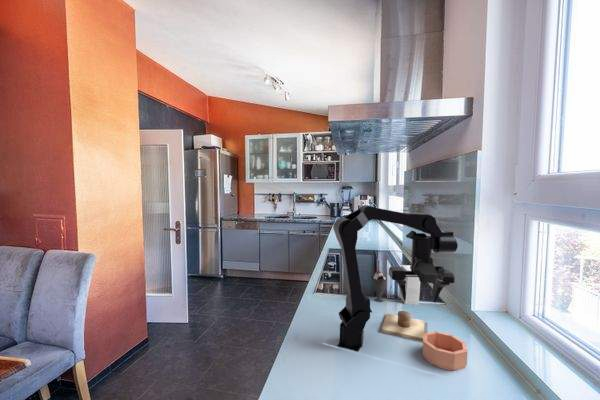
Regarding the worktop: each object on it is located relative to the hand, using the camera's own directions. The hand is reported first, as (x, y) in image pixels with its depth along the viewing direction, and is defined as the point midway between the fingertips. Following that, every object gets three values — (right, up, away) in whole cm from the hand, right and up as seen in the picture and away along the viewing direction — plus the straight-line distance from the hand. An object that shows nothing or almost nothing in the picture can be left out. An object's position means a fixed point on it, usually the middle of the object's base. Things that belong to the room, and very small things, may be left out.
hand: (419, 301), depth 89 cm
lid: (-2, -12, +8) cm, 15 cm away
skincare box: (+9, -12, +32) cm, 35 cm away
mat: (-2, -13, +8) cm, 15 cm away
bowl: (+3, -14, -9) cm, 16 cm away
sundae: (-4, -12, +31) cm, 34 cm away
